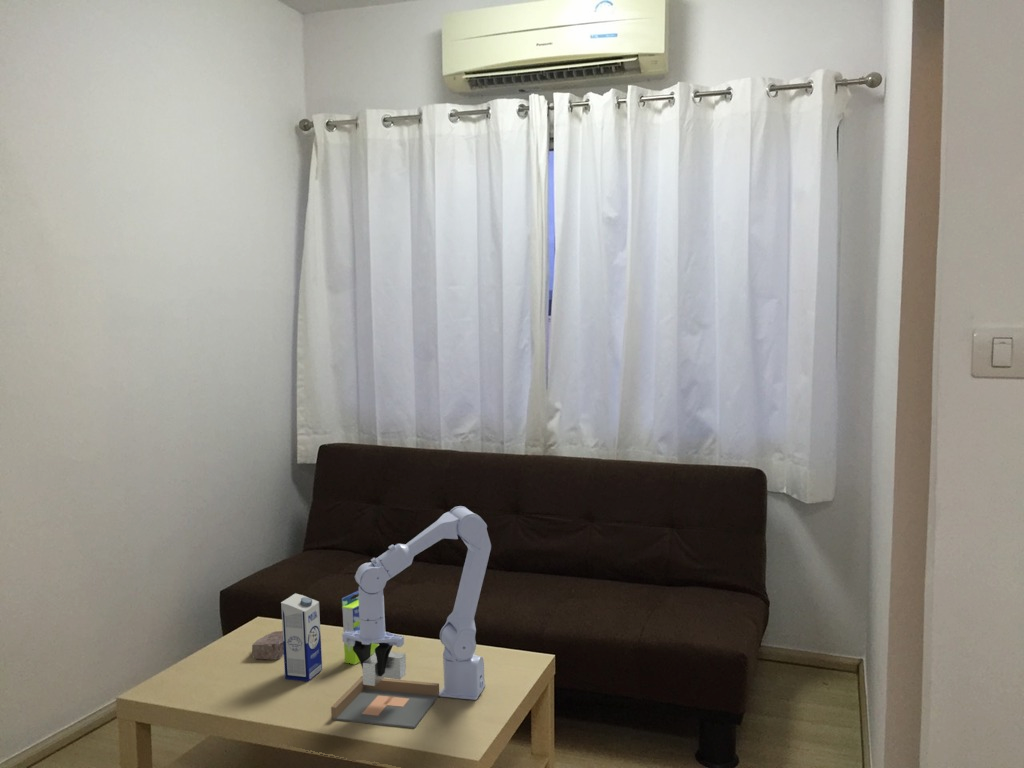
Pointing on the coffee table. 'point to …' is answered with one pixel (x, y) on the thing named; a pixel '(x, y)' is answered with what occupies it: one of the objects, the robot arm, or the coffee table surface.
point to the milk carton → (301, 637)
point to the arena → (386, 702)
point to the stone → (269, 646)
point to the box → (352, 626)
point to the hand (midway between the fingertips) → (374, 673)
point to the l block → (392, 670)
